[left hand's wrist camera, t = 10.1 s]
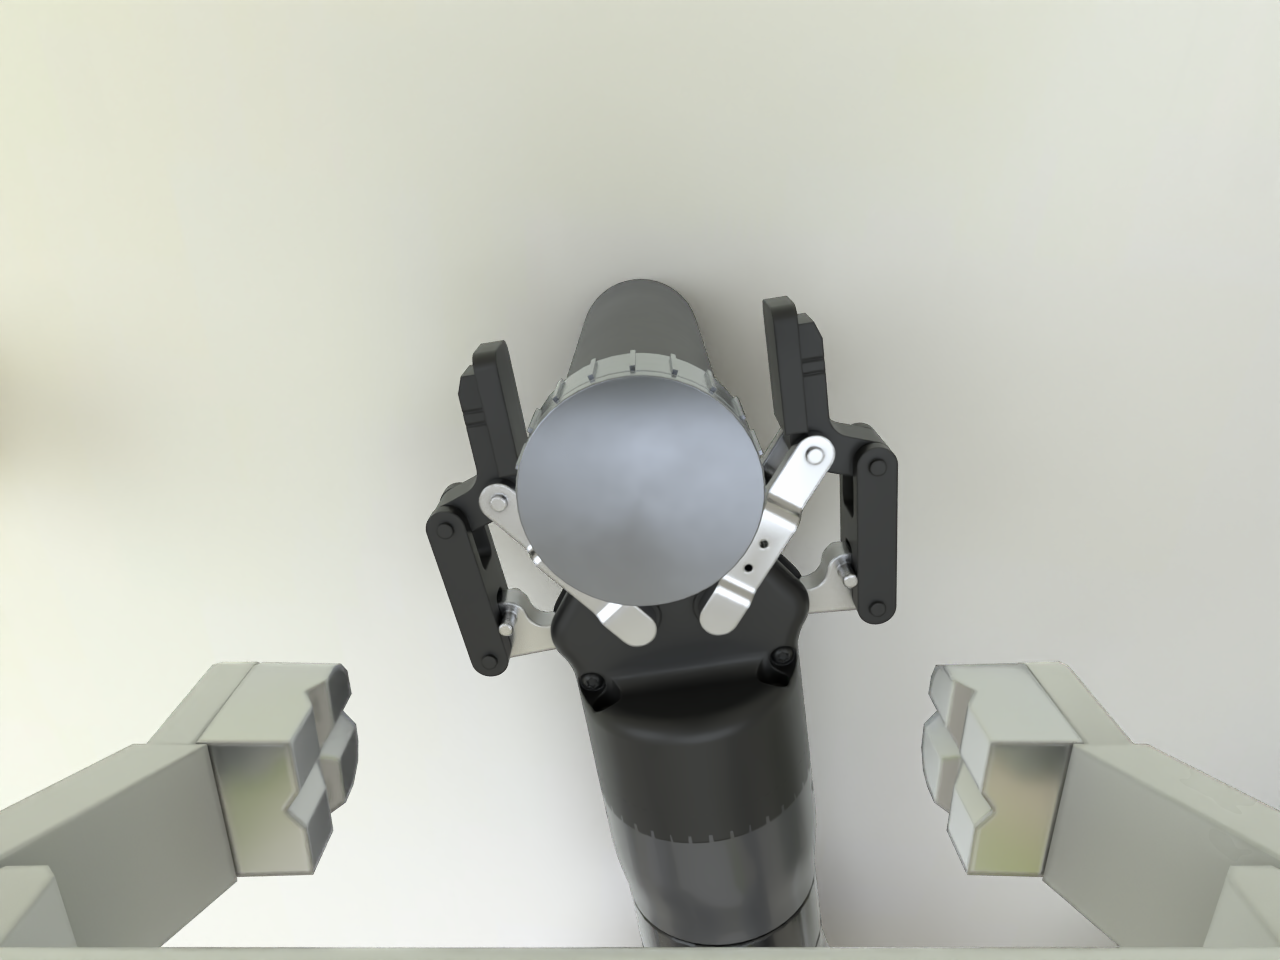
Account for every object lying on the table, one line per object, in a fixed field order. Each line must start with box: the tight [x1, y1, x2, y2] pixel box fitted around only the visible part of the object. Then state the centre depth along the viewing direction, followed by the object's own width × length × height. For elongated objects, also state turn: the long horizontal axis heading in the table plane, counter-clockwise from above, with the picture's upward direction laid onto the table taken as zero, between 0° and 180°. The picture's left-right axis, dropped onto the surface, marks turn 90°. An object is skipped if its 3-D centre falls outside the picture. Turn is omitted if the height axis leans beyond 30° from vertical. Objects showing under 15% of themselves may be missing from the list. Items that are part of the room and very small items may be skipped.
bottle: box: [567, 279, 714, 378], centre depth 25 cm, size 4×4×15 cm
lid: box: [515, 350, 766, 606], centre depth 18 cm, size 5×5×2 cm
